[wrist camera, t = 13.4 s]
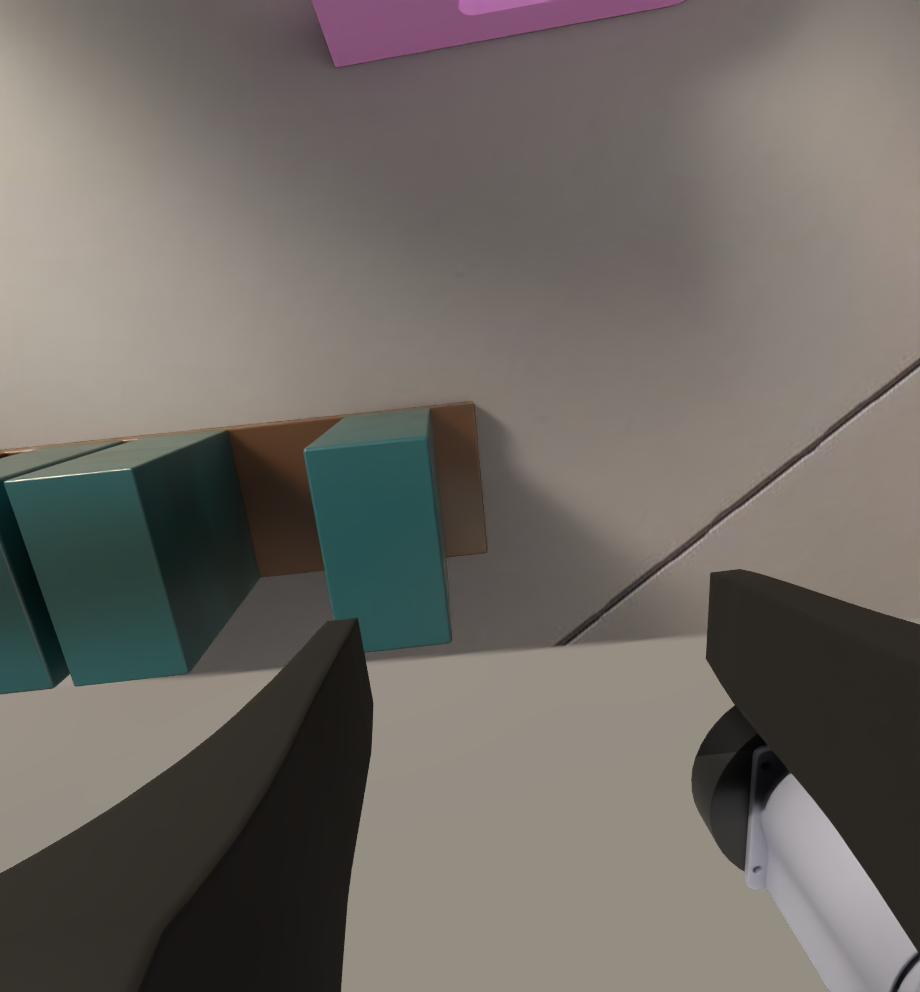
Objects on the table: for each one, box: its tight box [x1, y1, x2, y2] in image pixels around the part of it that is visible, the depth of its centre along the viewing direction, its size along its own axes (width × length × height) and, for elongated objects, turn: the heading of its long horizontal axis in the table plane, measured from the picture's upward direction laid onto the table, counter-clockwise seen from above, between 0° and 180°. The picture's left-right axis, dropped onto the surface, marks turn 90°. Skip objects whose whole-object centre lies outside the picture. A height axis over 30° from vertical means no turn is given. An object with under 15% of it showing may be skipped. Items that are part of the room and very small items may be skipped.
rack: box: [0, 402, 487, 694], centre depth 16 cm, size 6×18×7 cm, turn 96°
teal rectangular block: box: [303, 408, 452, 653], centre depth 16 cm, size 3×6×6 cm, turn 6°
